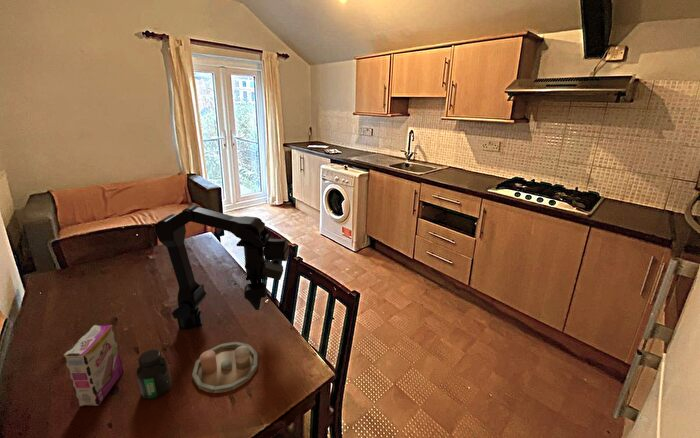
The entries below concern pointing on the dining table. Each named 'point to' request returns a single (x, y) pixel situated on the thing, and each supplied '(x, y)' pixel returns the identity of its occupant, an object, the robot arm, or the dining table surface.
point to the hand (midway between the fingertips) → (257, 301)
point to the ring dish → (225, 369)
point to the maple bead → (242, 357)
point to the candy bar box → (94, 365)
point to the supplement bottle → (153, 375)
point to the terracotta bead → (208, 362)
